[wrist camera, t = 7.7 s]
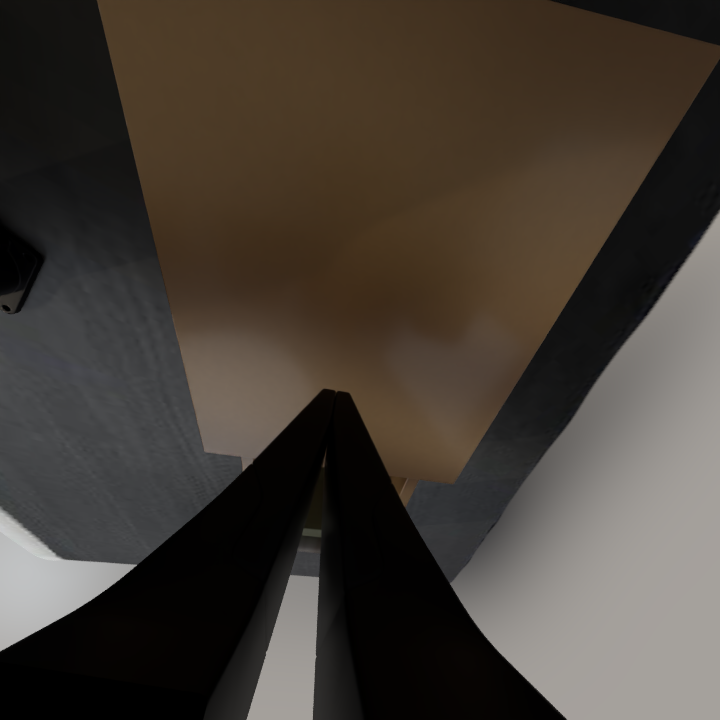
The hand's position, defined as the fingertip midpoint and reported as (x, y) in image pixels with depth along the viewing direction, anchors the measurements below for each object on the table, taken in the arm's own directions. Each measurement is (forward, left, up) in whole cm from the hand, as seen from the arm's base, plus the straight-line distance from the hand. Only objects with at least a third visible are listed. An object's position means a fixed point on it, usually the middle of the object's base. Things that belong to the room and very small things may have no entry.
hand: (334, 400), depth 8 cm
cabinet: (+1, +1, -12) cm, 12 cm away
